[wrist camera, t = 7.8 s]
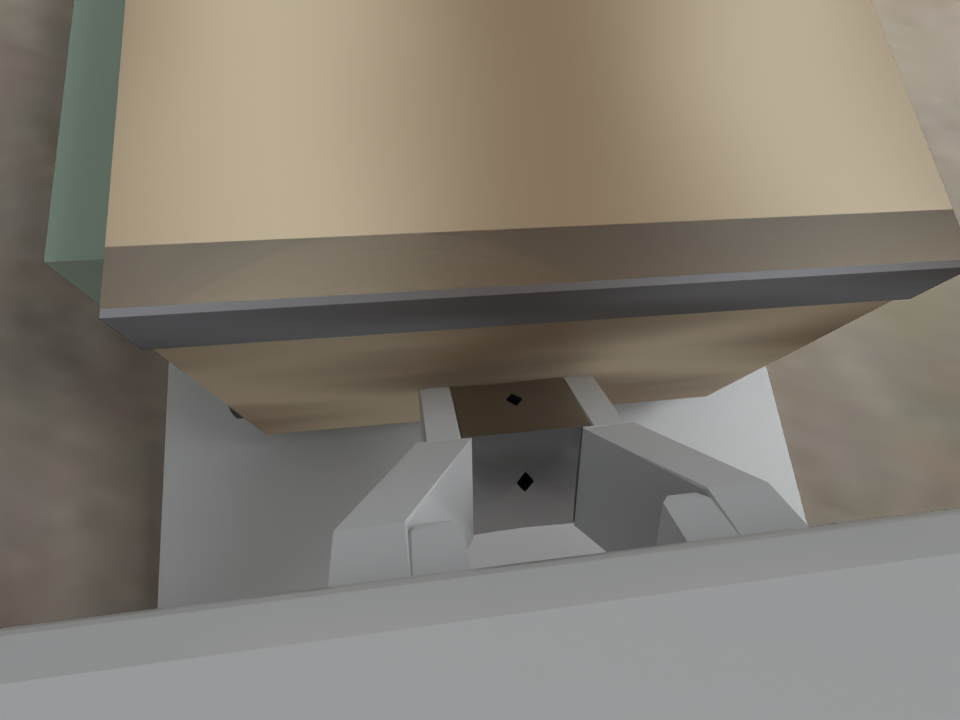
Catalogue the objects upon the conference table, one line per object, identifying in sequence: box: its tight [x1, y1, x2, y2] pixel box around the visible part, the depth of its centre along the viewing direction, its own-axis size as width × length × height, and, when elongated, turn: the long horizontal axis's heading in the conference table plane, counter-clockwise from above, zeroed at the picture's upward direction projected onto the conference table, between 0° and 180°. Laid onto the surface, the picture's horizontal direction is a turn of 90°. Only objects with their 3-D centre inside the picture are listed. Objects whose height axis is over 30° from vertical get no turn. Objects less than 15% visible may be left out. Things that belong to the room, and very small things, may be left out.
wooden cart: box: [99, 0, 960, 435], centre depth 12 cm, size 11×9×8 cm
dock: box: [44, 0, 807, 608], centre depth 13 cm, size 15×30×6 cm, turn 6°
